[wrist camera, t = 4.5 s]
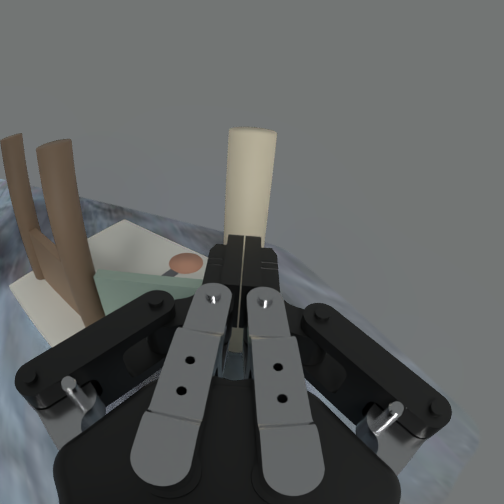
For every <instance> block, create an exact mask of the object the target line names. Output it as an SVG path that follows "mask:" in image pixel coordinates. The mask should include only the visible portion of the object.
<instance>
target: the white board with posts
mask: <svg viewBox="0 0 504 504" xmlns="http://www.w3.org/2000/svg"><path fill="white" fill-rule="evenodd" d="M0 142H1V149H2V156H3V162H4V168H5V173H6V179H7V184H8V188H9V193H10V197H11V201H12V205H13V209H14V213H15V217H16V220H17V224H18V227H19V231H20V234H21V237H22V241H23V244H24V247H25V250H26V253H27V256H28V258H29V261H30V264H31V267H32V269H33V271H31V272H30V273H28V274H26V275H25V276H23V277H22V278H20V279H19V280H17V281H15V282H14V283H12V284H11V285H9V287H10V289H11V291H12V292H13V294H14V296H15V297H16V299H17V300H18V302H19V303H20V305H21V306H22V308H23V309H24V311H25V312H26V314H27V315H28V316H29V318H30V319H31V321H32V322H33V323H34V325H35V326H36V328H37V329H38V330H39V332H40V333H41V334H42V336H43V337H44V338H45V339H46V341H47V342H48V343H49V345H50V346H51V347H54V346H55V345H57V344H59V343H60V342H62V341H64V340H66V339H67V338H69V337H71V336H72V335H74V334H76V333H77V332H79V331H81V330H82V329H84V328H86V327H88V326H89V325H91V324H93V323H94V322H96V321H98V320H100V319H101V318H103V317H105V316H106V315H105V313H104V310H103V307H102V303H101V300H100V297H99V294H98V291H97V288H96V284H95V281H94V275H95V273H96V272H97V270H98V269H102V270H111V271H120V272H130V273H139V274H149V275H159V276H170V277H180V278H192V279H203V278H204V273H205V269H206V265H207V261H208V257H206V256H204V255H201V254H199V253H197V252H195V251H193V250H190V249H188V248H186V247H184V246H182V245H179V244H177V243H175V242H173V241H171V240H168V239H166V238H164V237H162V236H160V235H157V234H155V233H153V232H151V231H149V230H147V229H145V228H142V227H140V226H138V225H136V224H134V223H132V222H130V221H127V220H125V219H124V220H122V221H120V222H118V223H116V224H114V225H112V226H110V227H108V228H106V229H104V230H103V231H101V232H99V233H97V234H95V235H93V236H91V237H90V238H88V239H87V236H86V231H85V227H84V222H83V217H82V212H81V206H80V201H79V195H78V189H77V183H76V176H75V168H74V160H73V152H72V141H71V139H63V140H56V141H53V142H49V143H46V144H43V145H41V146H39V147H38V148H37V149H36V152H37V160H38V166H39V172H40V178H41V184H42V189H43V194H44V199H45V204H46V208H47V212H48V217H49V221H50V225H51V229H52V233H53V236H54V240H55V243H56V245H55V244H54V243H53V242H51V241H50V240H49V239H48V238H47V237H46V236H45V235H43V234H42V233H41V230H40V226H39V223H38V219H37V215H36V211H35V207H34V202H33V198H32V193H31V188H30V183H29V178H28V172H27V167H26V160H25V154H24V146H23V138H22V133H19V134H15V135H12V136H9V137H6V138H4V139H2V140H1V141H0Z"/></svg>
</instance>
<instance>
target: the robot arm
mask: <svg viewBox="0 0 504 504" xmlns="http://www.w3.org/2000/svg"><path fill="white" fill-rule="evenodd" d="M243 244H244V235H232V234H229V235H228V240H227V245H222V244H216V245H215V246H214V247H213V248H212V249H211V250H210V253H209V257H208V261H207V265H206V269H205V273H204V278H203V282H202V286H200V287H199V288H198V289H197V290H196V292H195V294H194V295H192V296H190V297H187V298H182V299H174V298H173V296H172V295H171V294H170V293H168V292H166V291H163V290H152V291H149V292H146V293H145V294H143V295H141V296H139V297H138V298H136V299H134V300H132V301H131V302H129V303H127V304H125V305H124V306H122V307H120V308H118V309H117V310H115V311H113V312H112V313H110V314H108V315H106V316H105V317H103V318H101V319H100V320H98V321H96V322H94V323H93V324H91V325H89V326H88V327H86V328H84V329H82V330H81V331H79V332H77V333H76V334H74V335H72V336H71V337H69V338H67V339H66V340H64V341H62V342H60V343H59V344H57V345H55V346H54V347H52V348H50V349H49V350H47V351H45V352H44V353H42V354H40V355H39V356H37V357H35V358H34V359H32V360H30V361H29V362H27V363H25V364H24V365H23V366H21V367H20V368H19V370H18V371H17V373H16V376H15V386H16V389H17V390H18V391H19V393H20V394H21V395H22V396H23V397H24V398H25V399H26V400H27V402H28V403H29V405H30V406H31V407H32V408H33V409H34V410H35V411H36V412H37V413H38V415H39V417H40V419H41V420H42V422H43V424H44V426H45V428H46V430H47V431H48V433H49V435H50V437H51V438H52V440H53V442H54V443H55V445H56V447H57V448H58V450H59V452H58V454H57V456H56V458H55V461H54V465H53V477H54V481H55V485H56V489H57V493H58V497H59V504H399V502H400V498H401V488H400V483H399V480H398V478H397V476H398V474H399V473H400V472H401V471H402V470H403V468H404V467H405V466H406V465H407V463H408V462H409V461H410V460H411V458H412V457H413V456H414V454H415V453H416V452H417V450H418V449H419V448H420V446H421V445H422V444H423V442H425V441H426V440H427V439H429V438H430V437H431V436H433V435H434V434H435V433H437V432H438V431H439V430H440V429H442V428H443V427H444V426H445V425H446V424H447V423H448V422H449V421H450V419H451V415H452V410H451V406H450V404H449V402H448V401H447V399H446V398H445V397H444V396H442V395H441V394H440V393H439V392H437V391H436V390H435V389H434V388H432V387H431V386H430V385H429V384H428V383H426V382H425V381H424V380H423V379H421V378H420V377H419V376H418V375H416V374H415V373H414V372H413V371H411V370H410V369H409V368H408V367H406V366H405V365H404V364H403V363H401V362H400V361H399V360H398V359H396V358H395V357H394V356H393V355H391V354H390V353H389V352H388V351H386V350H385V349H384V348H383V347H381V346H380V345H379V344H378V343H376V342H375V341H374V340H373V339H371V338H370V337H369V336H368V335H366V334H365V333H364V332H363V331H361V330H360V329H359V328H358V327H356V326H355V325H354V324H353V323H351V322H350V321H349V320H348V319H346V318H345V317H344V316H343V315H341V314H340V313H339V312H338V311H336V310H335V309H334V308H332V307H331V306H329V305H326V304H323V303H313V304H310V305H308V306H307V307H306V308H305V309H301V308H298V307H295V306H292V305H290V304H289V303H287V302H286V301H285V300H284V299H283V296H282V295H281V294H280V286H279V274H278V264H277V263H278V262H277V255H276V253H275V252H274V251H273V249H272V248H261V237H258V236H246V237H245V249H244V261H243V274H242V288H241V301H240V315H239V328H243V342H242V350H243V372H244V380H237V381H231V380H228V379H224V378H223V374H224V369H225V364H226V358H227V353H228V348H229V342H230V338H231V334H232V327H233V328H237V321H238V308H239V295H240V282H241V270H242V257H243ZM162 367H163V368H162ZM161 368H162V371H161V374H160V376H159V379H158V380H155V381H153V382H150V383H149V384H147V385H145V386H144V387H142V388H141V389H140V390H138V391H137V392H136V393H134V394H133V395H132V396H130V397H129V398H128V399H126V400H125V401H124V402H122V403H121V404H120V405H118V406H117V407H116V408H114V409H113V410H112V411H110V412H109V413H108V414H106V415H105V413H106V406H108V405H109V404H111V403H112V402H114V401H115V400H117V399H118V398H120V397H121V396H122V395H124V394H125V393H127V392H128V391H130V390H131V389H133V388H134V387H135V386H137V385H138V384H140V383H141V382H143V381H144V380H145V379H147V378H148V377H150V376H151V375H152V374H154V373H155V372H157V371H158V370H159V369H161ZM304 378H305V379H306V380H307V381H308V382H309V383H311V384H312V385H313V386H314V387H315V388H316V389H317V390H318V391H319V392H320V393H321V394H322V395H323V396H324V397H325V398H326V399H327V400H328V401H330V402H331V403H332V404H333V405H334V406H335V407H336V408H337V409H338V410H339V411H340V412H341V413H343V414H344V415H345V416H346V417H347V418H348V419H349V420H350V421H351V422H352V423H353V424H355V425H356V435H355V434H354V433H353V432H352V431H351V430H350V429H349V428H348V427H347V426H346V425H345V424H344V423H343V422H342V421H341V420H340V419H339V418H338V417H337V416H336V415H335V414H334V413H333V412H332V411H331V410H330V409H329V408H328V407H327V406H326V405H325V404H324V403H323V402H322V401H321V400H320V399H319V398H318V397H316V396H315V395H314V394H312V393H310V392H309V391H307V389H306V384H305V379H304Z"/></svg>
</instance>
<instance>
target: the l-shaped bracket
mask: <svg viewBox="0 0 504 504" xmlns="http://www.w3.org/2000/svg"><path fill="white" fill-rule="evenodd" d="M276 139H277V133H276V132H275V131H272V130H269V129H263V128H257V127H234V128H230V129H229V142H228V159H227V177H226V198H225V199H226V200H225V221H224V222H225V223H224V245H227V240H228V235H229V234H232V235H244V244H243V257H242V270H241V282H240V295H239V308H238V321H237V328H233V327H232V334H231V338H230V342H229V348H228V351H231V352H235V353H240V352H243V350H242V342H243V328H239V315H240V301H241V288H242V274H243V261H244V249H245V237H246V236H258V237H261V248H264V242H265V234H266V225H267V216H268V208H269V200H270V192H271V191H270V190H271V183H272V174H273V165H274V156H275V148H276ZM94 281H95V284H96V288H97V291H98V294H99V297H100V300H101V303H102V307H103V310H104V313H105V315H108V314H110V313H112V312H113V311H115V310H117V309H118V308H120V307H122V306H124V305H125V304H127V303H129V302H131V301H132V300H134V299H136V298H138V297H139V296H141V295H143V294H145V293H146V292H149V291H152V290H163V291H166V292H168V293H170V294H171V295H172V296H173V298H174V299H182V298H187V297H190V296H192V295H194V294H195V292H196V290H197V289H198V288H199V287H200V286H202V282H203V279H192V278H180V277H170V276H159V275H149V274H139V273H130V272H120V271H111V270H102V269H98V270H97V272H96V273H95V275H94Z"/></svg>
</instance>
